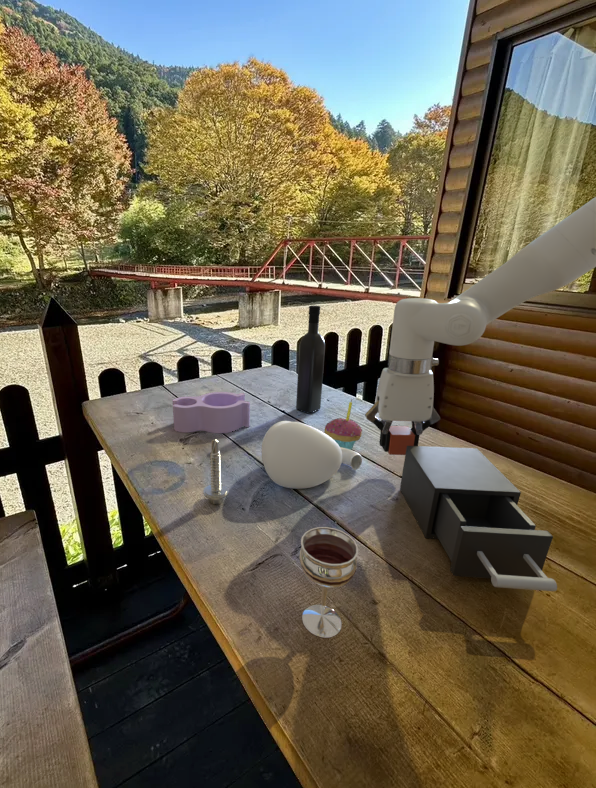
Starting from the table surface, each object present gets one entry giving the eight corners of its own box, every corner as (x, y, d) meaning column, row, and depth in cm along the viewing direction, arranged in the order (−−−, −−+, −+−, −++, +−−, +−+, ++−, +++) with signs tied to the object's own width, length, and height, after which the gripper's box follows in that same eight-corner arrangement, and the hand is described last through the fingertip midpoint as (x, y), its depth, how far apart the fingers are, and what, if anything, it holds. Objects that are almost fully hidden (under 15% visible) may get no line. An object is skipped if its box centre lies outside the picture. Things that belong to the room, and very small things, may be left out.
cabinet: (506, 543, 66) (521, 492, 63) (425, 538, 67) (435, 488, 64) (466, 492, 80) (476, 448, 76) (399, 488, 81) (406, 445, 78)
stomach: (367, 498, 85) (299, 459, 106) (383, 437, 84) (311, 410, 105) (278, 497, 75) (221, 453, 96) (294, 427, 73) (233, 399, 94)
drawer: (566, 617, 52) (584, 568, 49) (471, 610, 53) (484, 562, 50) (490, 521, 70) (501, 481, 67) (421, 517, 71) (428, 478, 68)
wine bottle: (294, 409, 121) (299, 306, 110) (306, 404, 124) (312, 304, 114) (310, 414, 117) (317, 308, 106) (321, 409, 120) (329, 306, 110)
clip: (175, 436, 104) (173, 411, 101) (173, 417, 115) (171, 394, 113) (252, 430, 107) (252, 406, 104) (242, 412, 118) (242, 390, 116)
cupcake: (337, 436, 103) (342, 392, 99) (367, 448, 97) (373, 401, 93) (315, 447, 98) (319, 400, 94) (346, 460, 92) (351, 411, 88)
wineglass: (324, 592, 57) (331, 520, 53) (360, 629, 51) (371, 552, 47) (284, 611, 54) (288, 537, 50) (318, 653, 48) (326, 574, 44)
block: (405, 445, 87) (408, 426, 85) (412, 455, 83) (415, 435, 81) (383, 444, 87) (385, 425, 86) (389, 454, 83) (391, 434, 82)
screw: (231, 506, 76) (205, 509, 75) (226, 491, 81) (201, 494, 80) (230, 443, 72) (203, 446, 71) (225, 432, 76) (199, 434, 75)
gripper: (447, 359, 81) (433, 442, 88) (360, 359, 83) (352, 440, 90) (463, 370, 74) (447, 459, 81) (368, 369, 76) (359, 456, 82)
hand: (397, 448), depth 85 cm, fingers closed on block, 4 cm apart
